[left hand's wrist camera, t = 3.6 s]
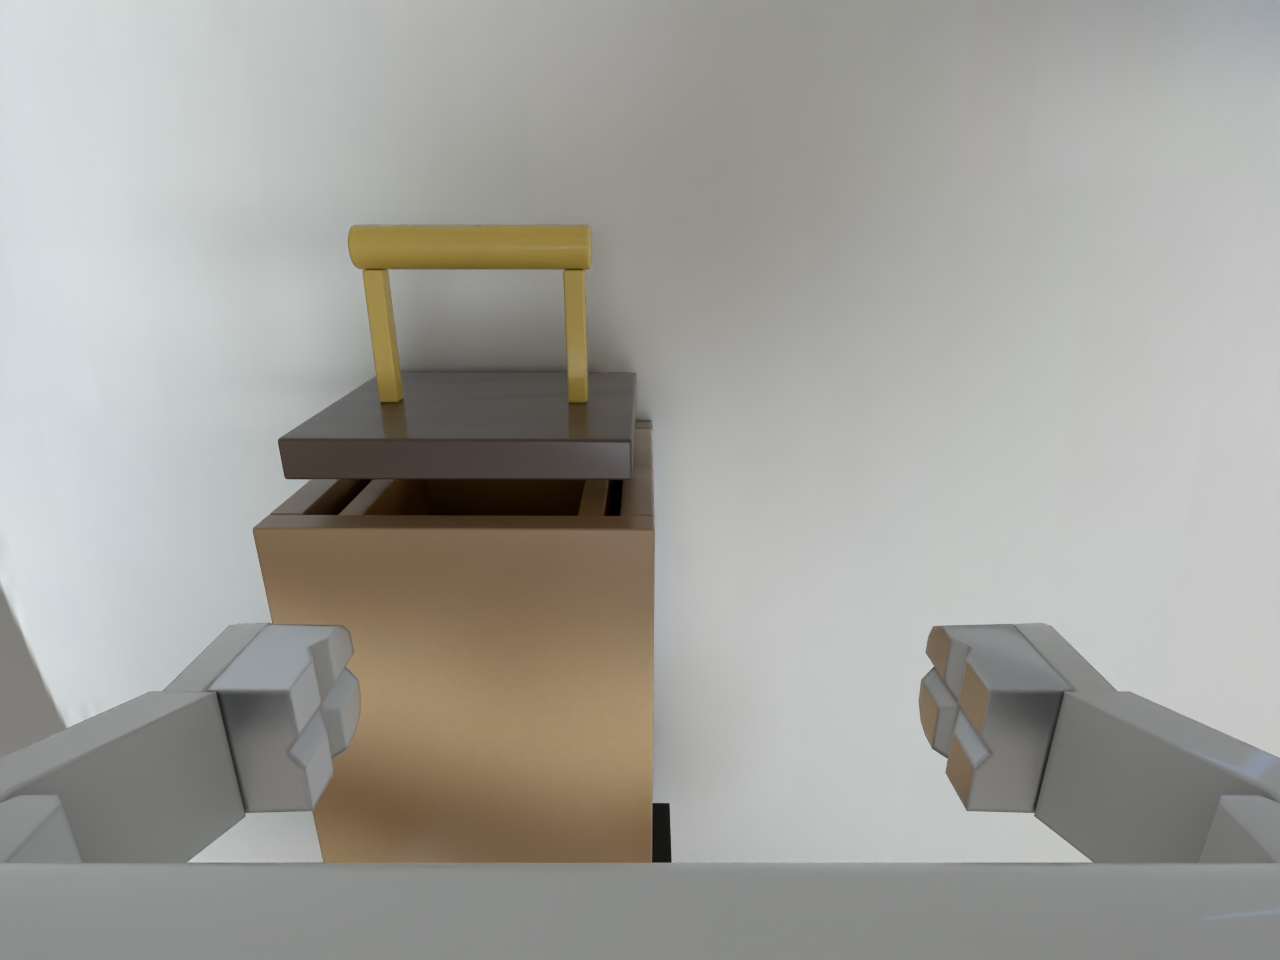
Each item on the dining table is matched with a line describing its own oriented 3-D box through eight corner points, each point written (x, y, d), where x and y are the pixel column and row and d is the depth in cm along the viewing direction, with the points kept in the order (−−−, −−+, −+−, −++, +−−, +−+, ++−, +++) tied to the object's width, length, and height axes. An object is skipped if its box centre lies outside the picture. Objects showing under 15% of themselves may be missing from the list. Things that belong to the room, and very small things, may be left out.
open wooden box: (381, 420, 29) (250, 528, 19) (652, 420, 29) (654, 529, 19) (433, 807, 36) (356, 1024, 27) (649, 808, 36) (650, 1027, 26)
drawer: (361, 221, 25) (235, 229, 18) (636, 221, 25) (631, 230, 17) (432, 766, 34) (370, 932, 26) (637, 768, 34) (634, 935, 26)
